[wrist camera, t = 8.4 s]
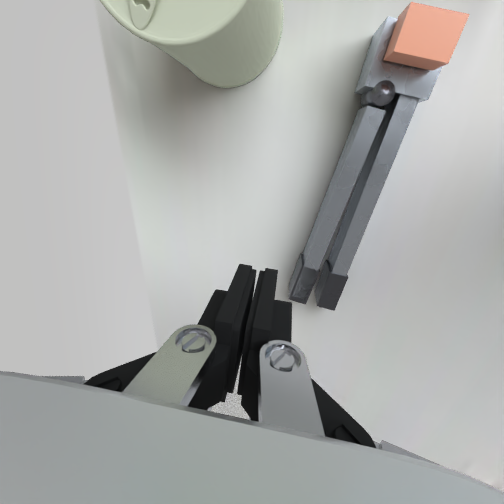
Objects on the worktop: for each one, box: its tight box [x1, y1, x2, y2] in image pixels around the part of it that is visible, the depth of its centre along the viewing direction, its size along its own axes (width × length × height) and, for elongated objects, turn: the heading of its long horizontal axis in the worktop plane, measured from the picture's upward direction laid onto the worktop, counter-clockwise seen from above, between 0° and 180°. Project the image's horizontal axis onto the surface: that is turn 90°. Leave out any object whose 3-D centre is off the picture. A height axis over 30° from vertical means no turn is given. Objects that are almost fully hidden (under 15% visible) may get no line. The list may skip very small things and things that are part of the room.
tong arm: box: [289, 106, 386, 304], centre depth 25 cm, size 18×2×3 cm, turn 165°
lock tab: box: [384, 2, 469, 71], centre depth 17 cm, size 2×3×2 cm
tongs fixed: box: [315, 16, 442, 310], centre depth 24 cm, size 23×5×3 cm, turn 168°
